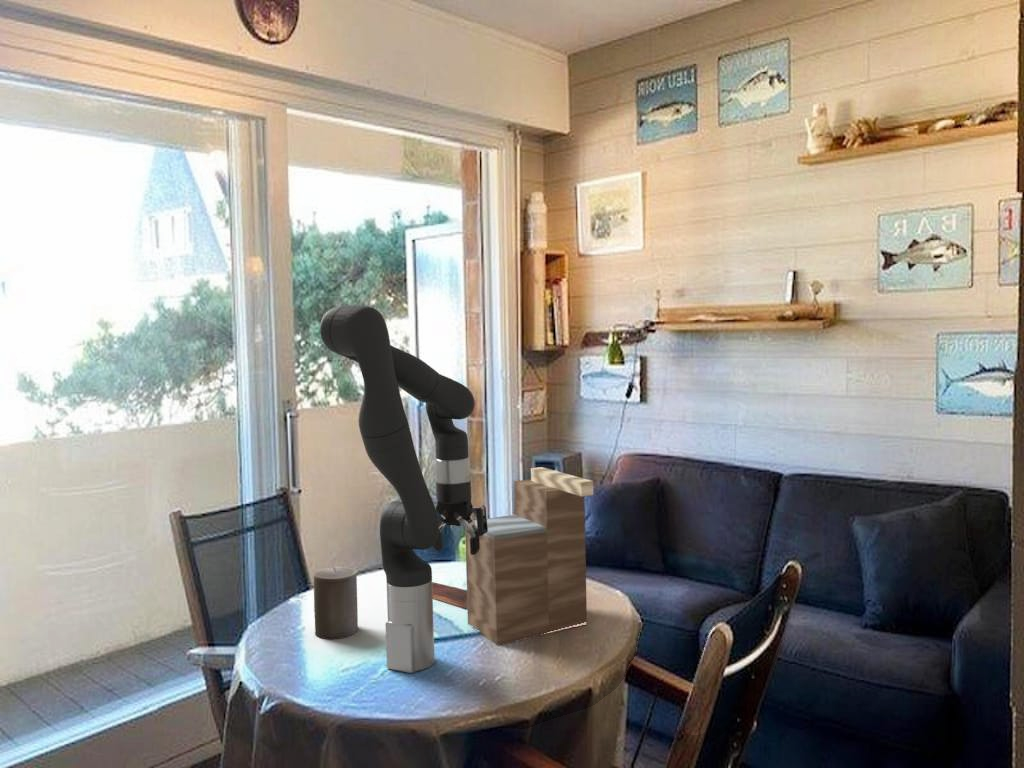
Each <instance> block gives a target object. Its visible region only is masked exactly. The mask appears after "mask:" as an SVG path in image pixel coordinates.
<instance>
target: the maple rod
mask: <svg viewBox="0 0 1024 768" xmlns="http://www.w3.org/2000/svg"><path fill="white" fill-rule="evenodd" d="M530 479H531V481H533V482H536V483H539V484H543V485H546V486H549V487H552V488H556V489H559V490H562V491H565V492H569V493H572V494H575V495H578V496H584V497H587V496H594V480H591V479H587V478H583V477H580V476H576V475H572V474H568V473H566V472H561V471H558V470H554V469H551V468H547V467H542V466H540V467H538V466H537V467H531V468H530Z"/></svg>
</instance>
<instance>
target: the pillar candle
mask: <svg viewBox="0 0 1024 768" xmlns="http://www.w3.org/2000/svg"><path fill="white" fill-rule="evenodd" d="M357 573H358V571H357V570H356V569H354V568H352V567H346V566H345V567H344V566H333V567H327V568H322V569H319V570H317V571H315V572H314V573H313V601H314V602H313V606H314V607H313V608H314V609H313V611H314V635H315V636H316V637H319V638H321V639H324V638H328V639H327V640H333V639H335V640H336V639H337V640H338V639H343V638H348V637H351V636H354V635H355V634H356V633H357V632H358V630H359V624H358V623H359V621H358V616H359V615H358V587H357V586H358V582H357V581H358V577H357Z"/></svg>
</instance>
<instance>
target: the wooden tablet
mask: <svg viewBox="0 0 1024 768" xmlns="http://www.w3.org/2000/svg"><path fill="white" fill-rule="evenodd" d="M432 595H433V600H435V601H439V602H443V603H446V604H448V605H451V606H454V607H457V608H461V609H463V610H466V611H468V610H467V589H463V588H460V587H456V586H450V585H448V584H447V585H446V584H443V583H437V582H433V581H432Z"/></svg>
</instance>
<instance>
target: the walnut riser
mask: <svg viewBox="0 0 1024 768" xmlns="http://www.w3.org/2000/svg"><path fill="white" fill-rule="evenodd" d="M513 484H514V485H513V486H514V487H513V488H514V489H513V490H514V514H512V515H503V516H495V517H490V518H489V517H488V518H487V527H488V532H487V533H485V534H484V535H482V536H480V537H479V542H480V549H479V551H478V552H477V553H476V554H475V555H471V553H470V538H471V536H470V535H469V533H468V532H467V531H466V530H465V529H464V530H465V531H464V532H465V534H464V535H465V538H464V539H465V564H466V565H465V569H466V571H465V573H466V590H467V610H466V611H467V625H469V624H470V625H471V626H473V627H474V628H475V629H477V630H479V631H480V632H481V633H482V634H483V635H482V634H481V633H480V634H481V635H482V636H484V637H485V638H486V639H487V640H489V641H490V640H491V642H492V643H493V644H494V643H495V645H496V646H499V645H498V644H501V645H504V644H503V643H505V644H508V643H507V642H510V643H513V642H512V641H514V642H517V641H516V640H519V641H522V640H521V639H523V640H525V639H524V638H528V639H530V638H529V637H532V638H534V637H533V636H536V637H538V636H537V635H541V634H544V633H547V632H550V631H554V630H558V629H561V628H565V627H569V626H573V625H577V624H581V623H584V622H588V615H587V614H588V613H587V612H588V611H587V607H588V606H587V568H586V567H587V556H586V555H587V554H586V553H587V552H586V518H585V517H586V510H585V509H586V506H585V499H586V498H585V497H586V496H578V495H575V494H572V493H569V492H565V491H562V490H559V489H556V488H552V487H549V486H546V485H543V484H539V483H536V482H533V481H531V478H530V479H522V480H521V479H520V480H514V481H513ZM473 520H474V519H473ZM474 521H475V525H476V526H477V519H475V520H474ZM467 523H468V522H467ZM477 528H478V527H477ZM470 625H469V626H470ZM471 626H470V627H471ZM473 627H472V628H473ZM474 628H473V629H474ZM475 629H474V630H475ZM477 630H476V631H477ZM541 636H542V635H541Z"/></svg>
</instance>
